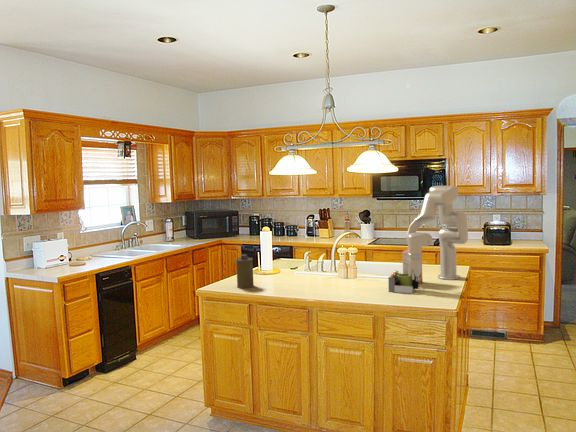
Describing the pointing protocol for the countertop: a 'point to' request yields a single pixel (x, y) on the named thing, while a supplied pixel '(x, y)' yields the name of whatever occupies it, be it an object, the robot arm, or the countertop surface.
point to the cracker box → (406, 265)
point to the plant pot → (405, 279)
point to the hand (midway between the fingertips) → (415, 288)
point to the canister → (244, 272)
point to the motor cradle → (398, 285)
